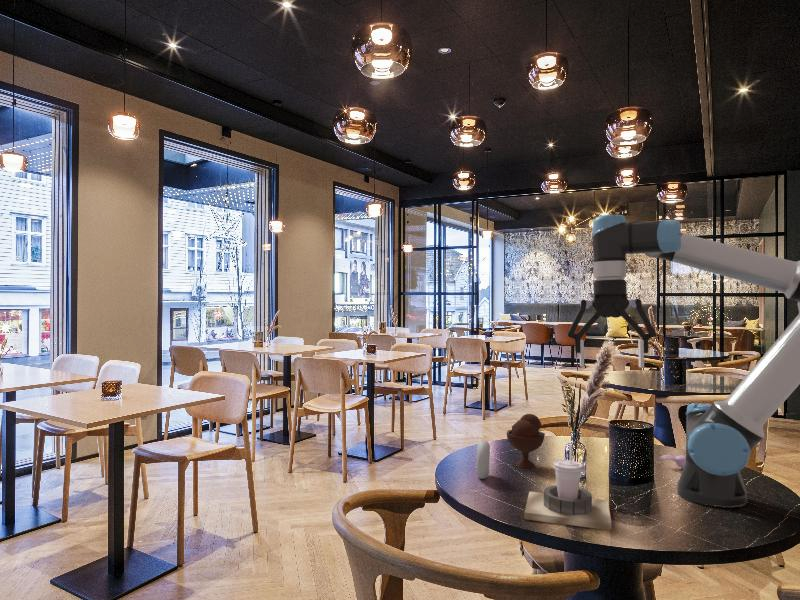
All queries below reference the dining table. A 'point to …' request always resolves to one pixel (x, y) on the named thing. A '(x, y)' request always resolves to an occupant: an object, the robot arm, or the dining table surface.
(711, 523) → the dining table surface
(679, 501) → the dining table surface
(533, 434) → the ice cream bowl
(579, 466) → the smoothie
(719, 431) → the robot arm
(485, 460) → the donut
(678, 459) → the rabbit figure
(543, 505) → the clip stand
